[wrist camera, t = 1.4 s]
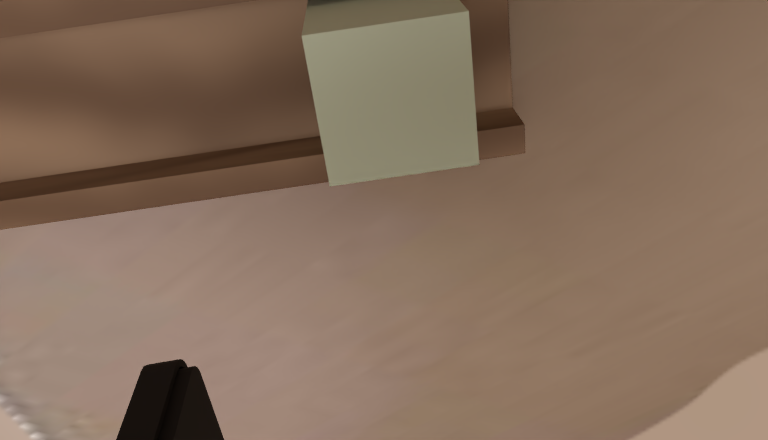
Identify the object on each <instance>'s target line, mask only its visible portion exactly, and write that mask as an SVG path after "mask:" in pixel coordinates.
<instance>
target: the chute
mask: <svg viewBox="0 0 768 440" xmlns="http://www.w3.org/2000/svg"><path fill="white" fill-rule="evenodd" d="M460 1H461V3H462V4H463V5H464V6H465V7H466V8H467V10H468V11H469V21H470V35H471V50H472V64H473V79H474V93H475V108H476V122H477V137H478V151H479V160H481V159H488V158H495V157H502V156H509V155H515V154H522V153H525V127H524V123H523V122H522V120H521V119H520V118H519V116H518V115H517V113H516V112H515V110H514V109H513V107H512V83H511V58H510V34H509V10H508V0H460ZM307 3H308V0H0V230H2V229H8V228H15V227H22V226H29V225H36V224H43V223H50V222H56V221H63V220H70V219H77V218H84V217H91V216H98V215H104V214H111V213H118V212H125V211H132V210H139V209H145V208H152V207H159V206H166V205H173V204H180V203H187V202H193V201H200V200H207V199H214V198H221V197H228V196H235V195H241V194H248V193H255V192H262V191H269V190H276V189H282V188H289V187H296V186H303V185H310V184H317V183H324V182H329V180H328V174H327V169H326V164H325V158H324V153H323V148H322V142H321V137H320V132H319V126H318V121H317V115H316V110H315V105H314V99H313V94H312V89H311V83H310V78H309V73H308V67H307V62H306V57H305V51H304V46H303V41H302V31H303V25H304V20H305V14H306V8H307Z"/></svg>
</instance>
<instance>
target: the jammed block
mask: <svg viewBox="0 0 768 440" xmlns="http://www.w3.org/2000/svg"><path fill="white" fill-rule="evenodd" d="M302 41H303V46H304V51H305V57H306V62H307V67H308V73H309V78H310V83H311V89H312V94H313V99H314V105H315V110H316V115H317V121H318V126H319V132H320V137H321V142H322V148H323V153H324V158H325V164H326V169H327V174H328V180H329V185H330V186H337V185H344V184H351V183H358V182H364V181H371V180H378V179H385V178H392V177H399V176H406V175H412V174H419V173H426V172H433V171H440V170H447V169H454V168H460V167H467V166H474V165H479V151H478V137H477V122H476V108H475V93H474V79H473V64H472V50H471V35H470V21H469V11H468V10H467V8H466V7H465V6H464V5H463V4H462V3H461V1H460V0H308V3H307V8H306V14H305V20H304V25H303V31H302Z"/></svg>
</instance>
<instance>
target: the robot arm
mask: <svg viewBox="0 0 768 440" xmlns="http://www.w3.org/2000/svg"><path fill="white" fill-rule="evenodd" d="M116 440H224V438H223V435H222V433H221V430H220V427H219V424H218V421H217V418H216V416H215V413H214V410H213V407H212V404H211V401H210V399H209V396H208V393H207V390H206V387H205V384H204V381H203V379H202V376H201V373H200V371H199V369H198V368H197V367H196V366H193V367H187V365H186V363H185V362H184V361H183V360H181V359H179V360H173V361H167V362H161V363H155V364H149V365H146V366H144V367H143V369H142V371H141V373H140V376H139V379H138V381H137V384H136V387H135V389H134V392H133V395H132V398H131V400H130V403H129V406H128V409H127V411H126V414H125V417H124V420H123V422H122V425H121V428H120V431H119V433H118V436H117V439H116Z"/></svg>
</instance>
